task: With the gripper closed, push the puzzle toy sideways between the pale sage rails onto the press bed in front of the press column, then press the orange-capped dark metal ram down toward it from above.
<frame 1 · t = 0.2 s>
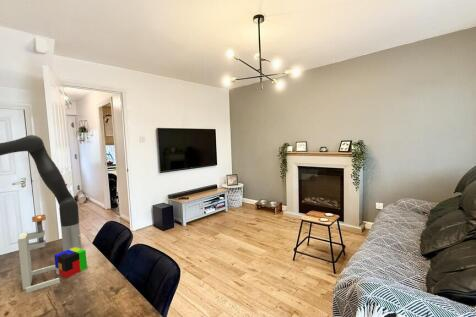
press: (44, 278, 114), on the table
puzzle toy: (71, 271, 121), on the table
ram: (40, 232, 113), point 24 cm above the table, slide at 0.0 cm
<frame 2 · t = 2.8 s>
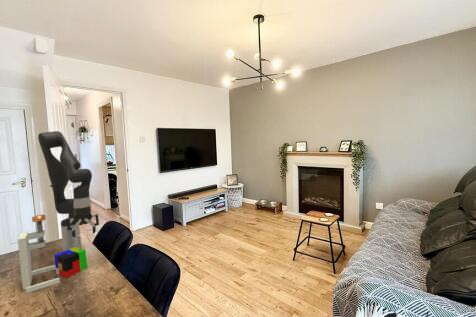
hand: (84, 235, 124), 17 cm above the table, fingers open, 8 cm apart
nothing on the table moved.
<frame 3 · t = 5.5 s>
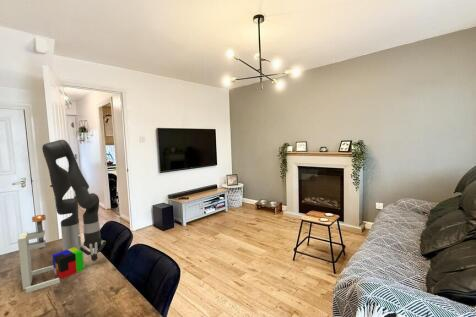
hand: (94, 260, 127), 2 cm above the table, fingers closed
puzzle toy: (69, 271, 121), on the table, touching hand
everything else where it was.
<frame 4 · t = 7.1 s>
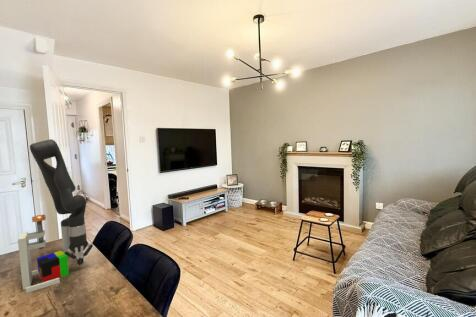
hand: (80, 264, 123), 2 cm above the table, fingers closed
puzzle toy: (54, 276, 117), on the table, touching hand
everything else where it was.
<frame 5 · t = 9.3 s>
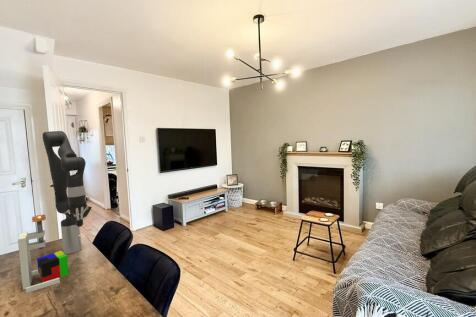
hand: (79, 226, 122), 23 cm above the table, fingers closed
puzzle toy: (53, 276, 117), on the table
everything else where it was.
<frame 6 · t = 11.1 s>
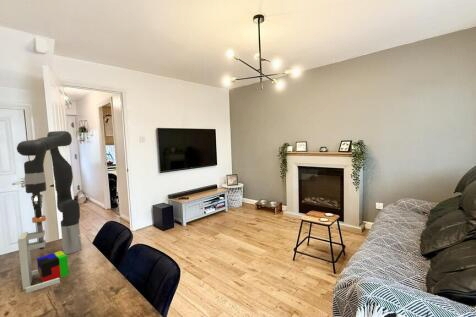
hand: (38, 216, 112), 32 cm above the table, fingers closed
ram: (40, 232, 113), point 24 cm above the table, slide at 0.4 cm, touching gripper
everything else where it was.
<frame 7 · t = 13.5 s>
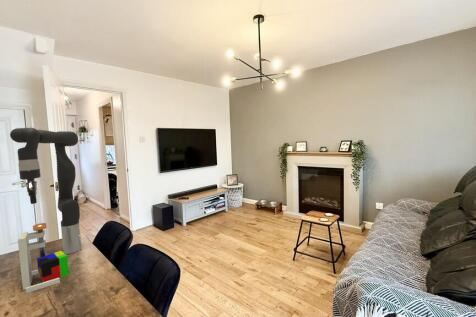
hand: (33, 203, 113), 38 cm above the table, fingers closed
ram: (41, 240, 113), point 20 cm above the table, slide at 4.3 cm
everything else where it was.
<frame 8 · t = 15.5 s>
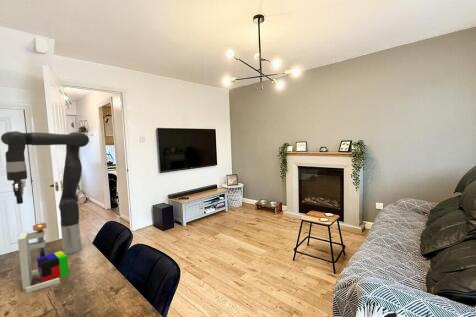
hand: (20, 203, 119), 37 cm above the table, fingers closed
nothing on the table moved.
at the end: puzzle toy inside the target area (1.8 cm from its centre), on the table; ram slide at 4.3 cm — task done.
